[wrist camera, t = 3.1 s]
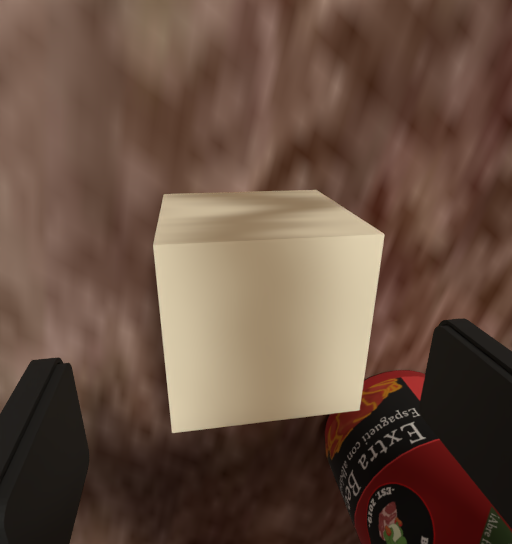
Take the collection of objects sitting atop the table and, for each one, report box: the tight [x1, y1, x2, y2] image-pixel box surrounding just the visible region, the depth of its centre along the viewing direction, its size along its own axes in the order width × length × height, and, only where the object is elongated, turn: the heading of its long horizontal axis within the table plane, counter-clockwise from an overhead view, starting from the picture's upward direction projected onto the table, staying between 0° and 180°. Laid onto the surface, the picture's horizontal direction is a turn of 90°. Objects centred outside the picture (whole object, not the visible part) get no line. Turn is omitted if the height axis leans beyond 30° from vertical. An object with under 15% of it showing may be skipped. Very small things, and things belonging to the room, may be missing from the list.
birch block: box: [153, 190, 384, 433], centre depth 14 cm, size 6×6×6 cm
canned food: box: [325, 370, 512, 544], centre depth 17 cm, size 8×8×11 cm
